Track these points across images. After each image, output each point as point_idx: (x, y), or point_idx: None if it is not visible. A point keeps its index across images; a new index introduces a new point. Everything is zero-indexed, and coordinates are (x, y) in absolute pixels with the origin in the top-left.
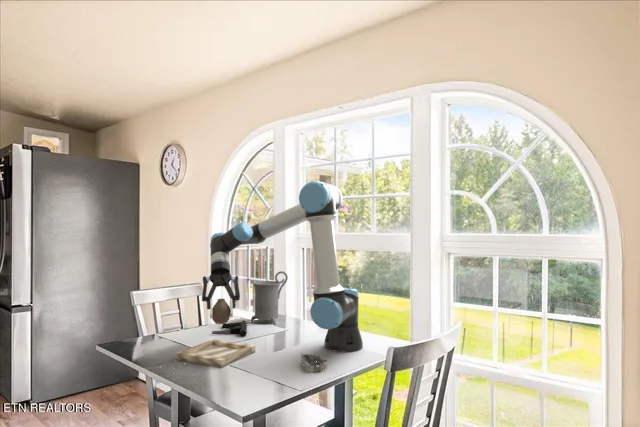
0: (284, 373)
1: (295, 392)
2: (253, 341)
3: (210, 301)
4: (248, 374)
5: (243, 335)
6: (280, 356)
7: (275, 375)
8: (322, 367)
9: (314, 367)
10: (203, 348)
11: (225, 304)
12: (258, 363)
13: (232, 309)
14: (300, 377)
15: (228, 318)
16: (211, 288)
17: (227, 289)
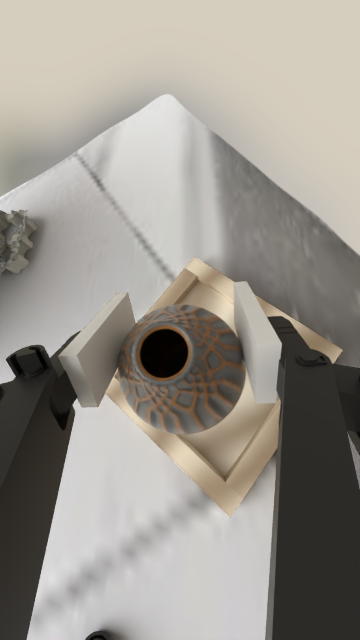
0: (76, 221)
1: (85, 148)
2: (79, 526)
3: (270, 325)
4: (142, 223)
5: (99, 637)
6: (50, 328)
7: (94, 213)
8: (4, 217)
9: (17, 221)
10: (258, 429)
11: (140, 325)
12: (110, 285)
13: (108, 303)
14: (57, 200)
15: (147, 343)
16: (355, 540)
17: (9, 548)
